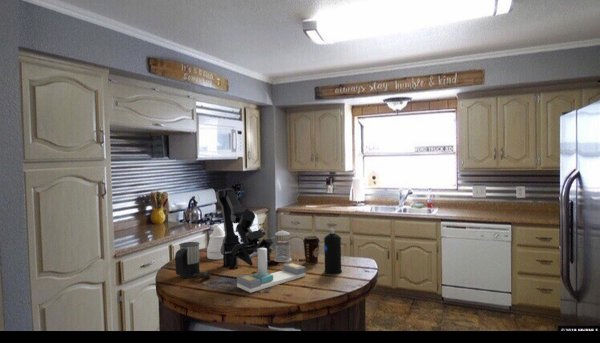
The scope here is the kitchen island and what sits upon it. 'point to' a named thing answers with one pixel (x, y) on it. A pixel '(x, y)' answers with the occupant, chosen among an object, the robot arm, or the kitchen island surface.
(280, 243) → the french press
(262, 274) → the carriage
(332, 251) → the aerosol can
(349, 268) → the kitchen island surface
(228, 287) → the kitchen island surface
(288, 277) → the rail
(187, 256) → the milk frother
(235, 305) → the kitchen island surface
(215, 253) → the white jug
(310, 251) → the coffee cup
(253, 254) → the door handle
